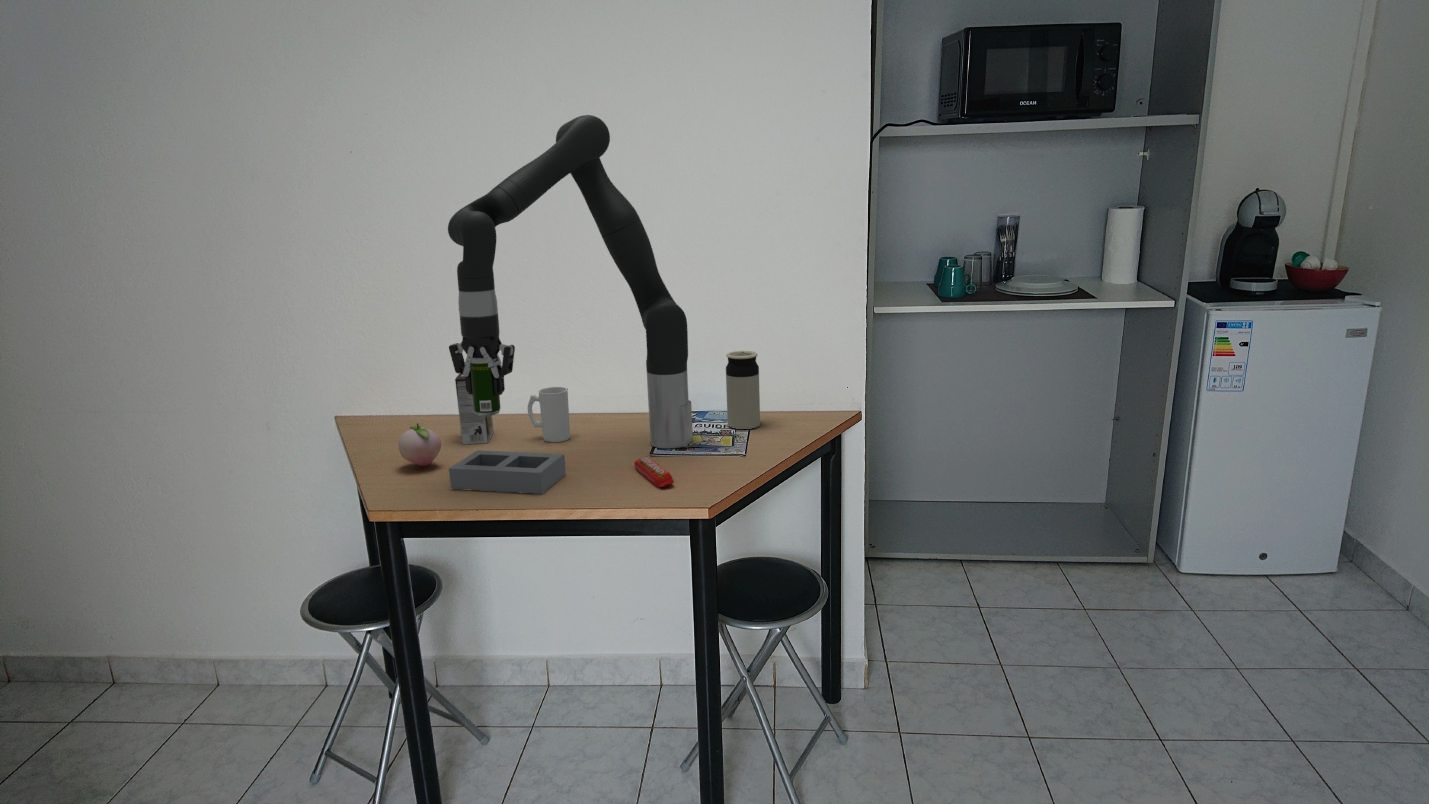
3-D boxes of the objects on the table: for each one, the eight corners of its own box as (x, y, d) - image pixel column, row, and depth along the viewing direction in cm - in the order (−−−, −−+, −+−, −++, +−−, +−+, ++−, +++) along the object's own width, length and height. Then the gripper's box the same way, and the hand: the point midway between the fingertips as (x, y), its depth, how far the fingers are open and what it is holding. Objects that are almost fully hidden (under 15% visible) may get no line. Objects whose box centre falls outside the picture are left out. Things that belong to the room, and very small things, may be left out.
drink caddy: (565, 474, 189) (564, 454, 188) (542, 494, 178) (540, 472, 177) (479, 470, 194) (477, 450, 193) (451, 489, 182) (448, 468, 181)
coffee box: (468, 433, 221) (461, 370, 217) (494, 432, 222) (488, 368, 218) (461, 444, 213) (453, 378, 208) (488, 443, 213) (481, 377, 209)
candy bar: (632, 469, 192) (631, 455, 191) (648, 466, 193) (647, 452, 192) (659, 492, 177) (658, 477, 177) (676, 488, 179) (675, 474, 178)
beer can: (502, 414, 184) (497, 357, 181) (475, 417, 182) (470, 359, 179) (499, 408, 189) (494, 352, 186) (473, 411, 187) (468, 354, 184)
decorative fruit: (393, 468, 197) (387, 424, 195) (426, 458, 203) (421, 416, 200) (416, 476, 191) (410, 431, 189) (449, 466, 197) (444, 422, 194)
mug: (575, 434, 217) (571, 386, 214) (566, 443, 211) (562, 393, 208) (535, 434, 219) (531, 386, 216) (525, 442, 212) (520, 393, 209)
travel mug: (754, 431, 214) (752, 357, 210) (723, 429, 217) (720, 356, 213) (764, 422, 222) (762, 351, 217) (734, 420, 224) (731, 349, 220)
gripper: (519, 310, 182) (525, 391, 186) (456, 308, 185) (463, 388, 190) (502, 316, 175) (508, 400, 179) (436, 314, 178) (444, 397, 182)
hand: (485, 393), depth 184 cm, fingers closed on beer can, 5 cm apart
